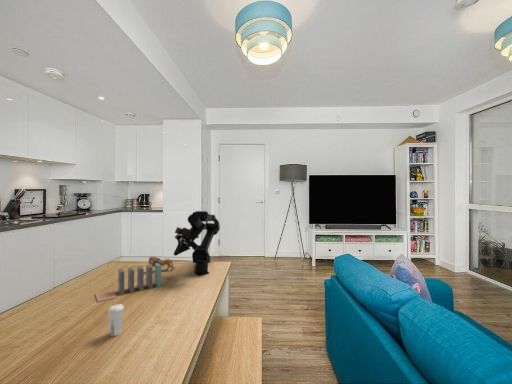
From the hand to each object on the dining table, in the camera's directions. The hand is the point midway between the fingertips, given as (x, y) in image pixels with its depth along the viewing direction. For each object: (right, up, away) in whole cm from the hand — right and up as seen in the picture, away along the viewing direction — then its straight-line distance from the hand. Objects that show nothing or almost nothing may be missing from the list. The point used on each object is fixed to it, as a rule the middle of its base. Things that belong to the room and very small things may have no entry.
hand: (174, 254), depth 127 cm
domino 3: (-13, -13, -10) cm, 21 cm away
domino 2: (-16, -13, -12) cm, 24 cm away
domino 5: (-7, -14, -5) cm, 16 cm away
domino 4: (-10, -14, -7) cm, 18 cm away
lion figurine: (-13, -14, +16) cm, 24 cm away
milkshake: (-4, -14, -46) cm, 48 cm away
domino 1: (-19, -13, -14) cm, 28 cm away
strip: (-24, -13, -18) cm, 33 cm away
